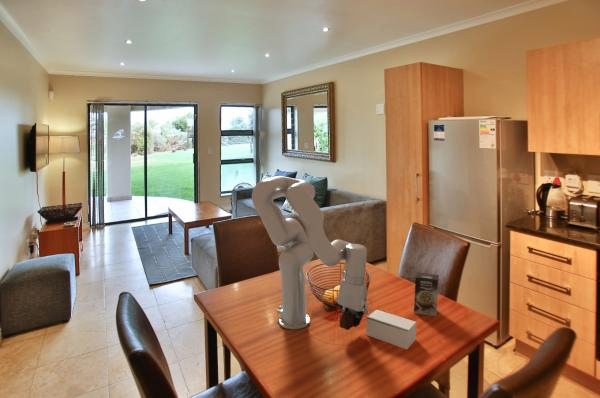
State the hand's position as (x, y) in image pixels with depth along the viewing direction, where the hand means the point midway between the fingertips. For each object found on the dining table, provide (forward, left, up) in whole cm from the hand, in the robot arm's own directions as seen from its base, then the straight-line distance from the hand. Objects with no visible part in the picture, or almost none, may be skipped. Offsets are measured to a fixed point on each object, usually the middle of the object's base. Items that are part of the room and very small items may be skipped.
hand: (351, 322), depth 137 cm
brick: (0, 0, 0) cm, 0 cm away
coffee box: (+16, +34, -5) cm, 38 cm away
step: (+13, +7, -5) cm, 15 cm away
